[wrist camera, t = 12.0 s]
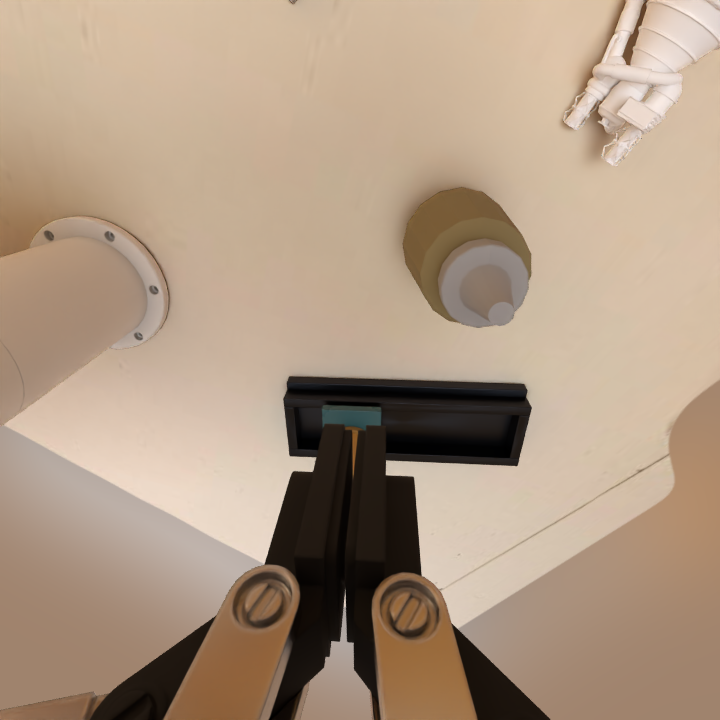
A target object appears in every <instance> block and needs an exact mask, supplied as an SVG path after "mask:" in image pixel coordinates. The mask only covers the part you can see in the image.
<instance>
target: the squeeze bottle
mask: <svg viewBox="0 0 720 720" xmlns="http://www.w3.org/2000/svg"><path fill="white" fill-rule="evenodd" d="M403 249H404V256H405V262H406V265H407V267H408V269H409V270H410V272H411V274H412V276H413V277H414V279H415V281H416V283H417V284H418V286H419V288H420V290H421V291H422V293H423V295H424V296H425V298H426V300H427V301H428V303H429V304H430V306H431V308H432V309H433V310H434V311H435V312H437V313H438V314H440V315H441V316H443V317H444V318H445V319H447V320H448V321H452V322H457V323H461V324H463V325H467V326H472V327H477V328H480V327H487V326H493V325H497V326H502V325H505V324H507V323H509V322H510V321H511V320H512V319H513V316H514V312H515V311H516V310H517V309H518V308H519V307H520V306H521V305H522V303H523V301H524V298H525V296H526V293H527V291H528V282H529V279H530V277H531V253H530V251H529V249H528V246H527V244H526V242H525V240H524V238H523V236H522V234H521V233H520V232H519V230H518V229H517V228H516V226H515V225H514V224H513V222H512V221H511V220H510V218H509V217H508V216H507V215H506V213H505V212H504V211H503V209H502V208H501V207H500V205H499V204H497V203H496V202H495V201H494V200H492V199H491V198H490V197H488V196H487V195H486V194H485V193H483V192H480V191H475V190H471V189H466V188H462V187H461V188H457V189H452V190H447V191H442V192H439V193H437V194H436V195H434V196H433V197H431V198H430V199H428V200H427V201H425V202H424V203H422V204H421V205H420V206H419V208H418V209H417V211H416V212H415V214H414V215H413V216H412V218H411V219H410V221H409V222H408V224H407V228H406V233H405V237H404V241H403Z"/></svg>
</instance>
